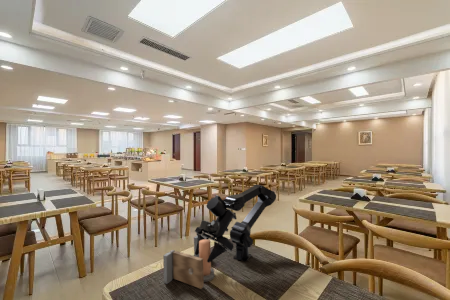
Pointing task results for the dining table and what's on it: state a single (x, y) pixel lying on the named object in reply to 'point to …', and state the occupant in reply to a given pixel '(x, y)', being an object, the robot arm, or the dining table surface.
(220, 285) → the dining table surface
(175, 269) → the door
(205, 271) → the door stop
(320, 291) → the dining table surface
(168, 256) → the door frame
